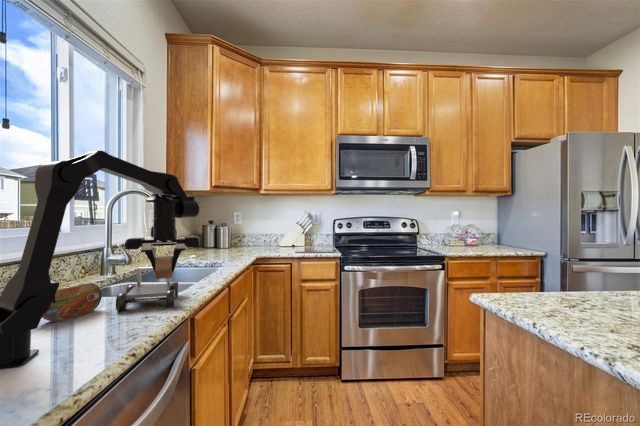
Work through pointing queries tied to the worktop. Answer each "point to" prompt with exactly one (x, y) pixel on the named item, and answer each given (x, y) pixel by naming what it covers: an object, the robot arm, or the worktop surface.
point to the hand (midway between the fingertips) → (164, 272)
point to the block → (163, 267)
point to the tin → (73, 302)
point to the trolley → (147, 292)
